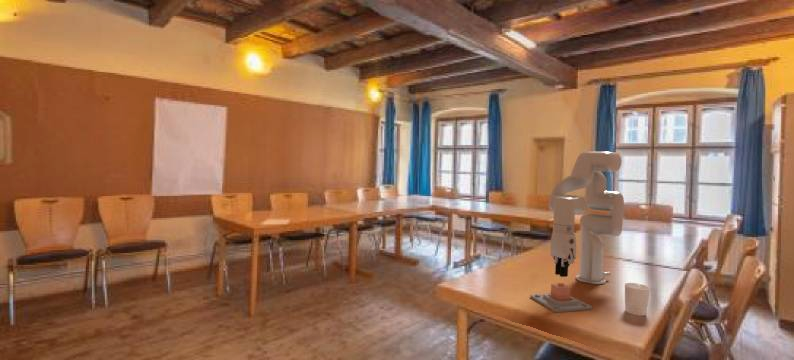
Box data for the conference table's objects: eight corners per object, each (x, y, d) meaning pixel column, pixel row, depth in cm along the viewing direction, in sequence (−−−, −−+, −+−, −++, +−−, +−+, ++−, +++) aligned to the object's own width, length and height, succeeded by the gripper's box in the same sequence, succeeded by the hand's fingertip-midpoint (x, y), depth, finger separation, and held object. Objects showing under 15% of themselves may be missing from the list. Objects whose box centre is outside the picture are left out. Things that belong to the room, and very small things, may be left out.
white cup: (618, 308, 150) (620, 282, 150) (638, 308, 151) (639, 282, 150) (632, 316, 142) (634, 289, 142) (653, 316, 143) (654, 289, 143)
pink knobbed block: (561, 297, 158) (562, 281, 157) (569, 302, 153) (570, 285, 152) (550, 298, 156) (551, 281, 156) (558, 303, 151) (559, 285, 151)
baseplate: (564, 294, 164) (564, 289, 164) (592, 309, 149) (592, 303, 149) (530, 297, 160) (530, 292, 160) (555, 312, 145) (555, 306, 145)
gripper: (586, 232, 146) (583, 281, 147) (558, 225, 162) (556, 269, 163) (569, 232, 144) (566, 282, 145) (542, 225, 160) (540, 270, 161)
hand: (561, 275), depth 154 cm, fingers closed
